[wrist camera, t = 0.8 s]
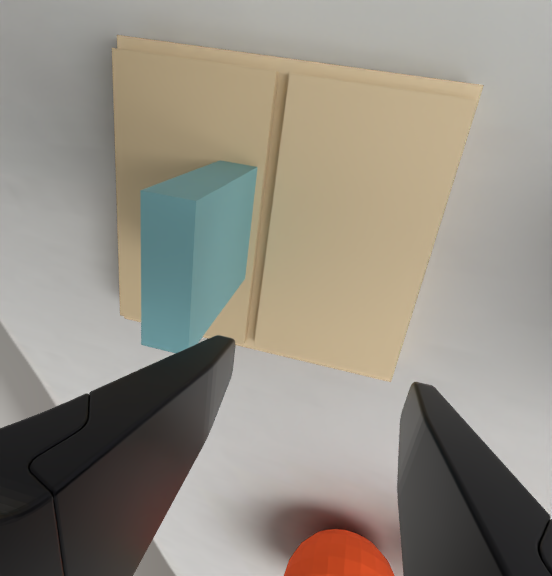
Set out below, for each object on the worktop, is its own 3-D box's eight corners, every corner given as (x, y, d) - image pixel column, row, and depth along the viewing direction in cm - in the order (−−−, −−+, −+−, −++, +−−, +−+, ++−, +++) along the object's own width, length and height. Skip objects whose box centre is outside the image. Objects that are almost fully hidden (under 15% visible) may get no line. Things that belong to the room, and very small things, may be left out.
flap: (278, 72, 16) (216, 53, 10) (246, 339, 21) (191, 440, 15) (118, 49, 17) (-34, 17, 10) (125, 310, 22) (25, 394, 16)
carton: (474, 86, 16) (487, 84, 14) (389, 363, 22) (391, 388, 20) (135, 39, 18) (107, 32, 16) (137, 304, 24) (117, 322, 22)
